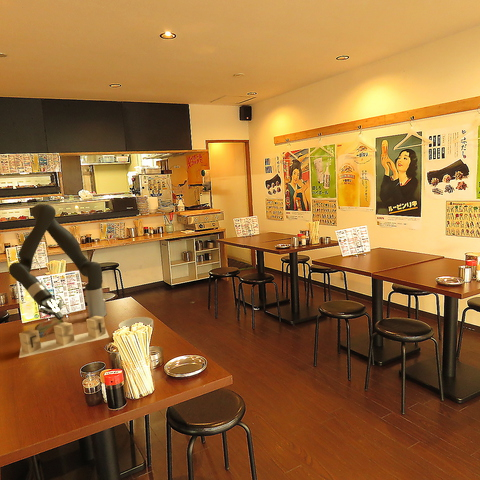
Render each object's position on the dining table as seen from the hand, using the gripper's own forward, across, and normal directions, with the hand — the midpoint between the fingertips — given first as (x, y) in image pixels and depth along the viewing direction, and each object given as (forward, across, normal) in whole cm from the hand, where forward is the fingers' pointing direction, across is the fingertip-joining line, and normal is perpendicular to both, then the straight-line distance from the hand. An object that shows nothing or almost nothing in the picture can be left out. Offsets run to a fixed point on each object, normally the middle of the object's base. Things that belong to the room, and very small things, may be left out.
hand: (61, 318), depth 193 cm
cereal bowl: (+31, +17, -12) cm, 38 cm away
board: (+10, 0, +9) cm, 13 cm away
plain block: (+9, 0, +8) cm, 12 cm away
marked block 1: (+16, +11, +2) cm, 19 cm away
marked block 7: (+2, -11, +16) cm, 19 cm away
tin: (-3, +7, +22) cm, 24 cm away
